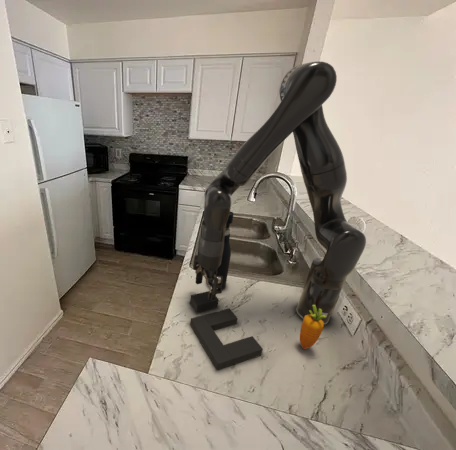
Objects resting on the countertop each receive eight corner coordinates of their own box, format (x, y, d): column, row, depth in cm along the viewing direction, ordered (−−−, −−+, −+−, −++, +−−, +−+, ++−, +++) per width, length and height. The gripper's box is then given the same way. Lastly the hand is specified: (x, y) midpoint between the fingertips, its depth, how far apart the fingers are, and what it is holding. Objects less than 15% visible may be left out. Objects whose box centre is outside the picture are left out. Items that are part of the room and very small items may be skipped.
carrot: (316, 357, 70) (333, 317, 63) (296, 354, 71) (311, 314, 64) (310, 342, 74) (325, 303, 68) (291, 339, 75) (305, 300, 68)
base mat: (228, 313, 84) (229, 308, 83) (261, 355, 70) (263, 348, 69) (190, 324, 80) (190, 318, 79) (217, 370, 66) (218, 363, 65)
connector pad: (210, 298, 90) (211, 290, 89) (217, 307, 86) (218, 299, 85) (189, 303, 88) (190, 295, 86) (196, 313, 84) (197, 305, 82)
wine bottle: (209, 290, 94) (219, 216, 81) (207, 279, 100) (216, 208, 87) (227, 291, 94) (239, 217, 81) (223, 280, 100) (235, 209, 87)
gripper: (234, 259, 72) (226, 303, 79) (209, 236, 84) (204, 276, 91) (211, 264, 70) (205, 308, 77) (189, 240, 82) (185, 280, 89)
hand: (204, 291), depth 84 cm, fingers open, 8 cm apart
